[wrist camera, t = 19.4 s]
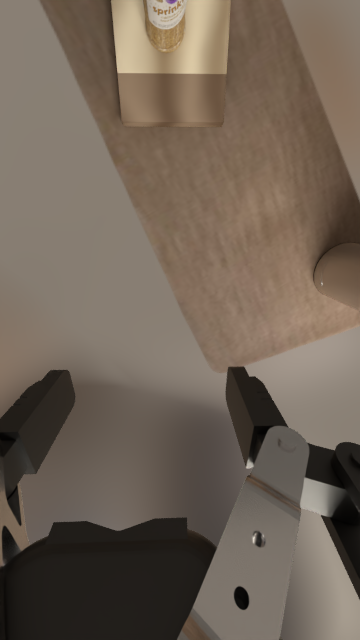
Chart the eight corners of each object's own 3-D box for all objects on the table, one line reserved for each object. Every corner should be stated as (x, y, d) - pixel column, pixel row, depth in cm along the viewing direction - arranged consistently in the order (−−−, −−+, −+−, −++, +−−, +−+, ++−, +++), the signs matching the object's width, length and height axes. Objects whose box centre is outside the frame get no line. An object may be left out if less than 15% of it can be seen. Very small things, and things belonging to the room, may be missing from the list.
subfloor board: (229, -23, 24) (232, -38, 23) (221, 126, 29) (223, 121, 28) (111, -25, 24) (107, -40, 22) (124, 126, 29) (121, 121, 28)
